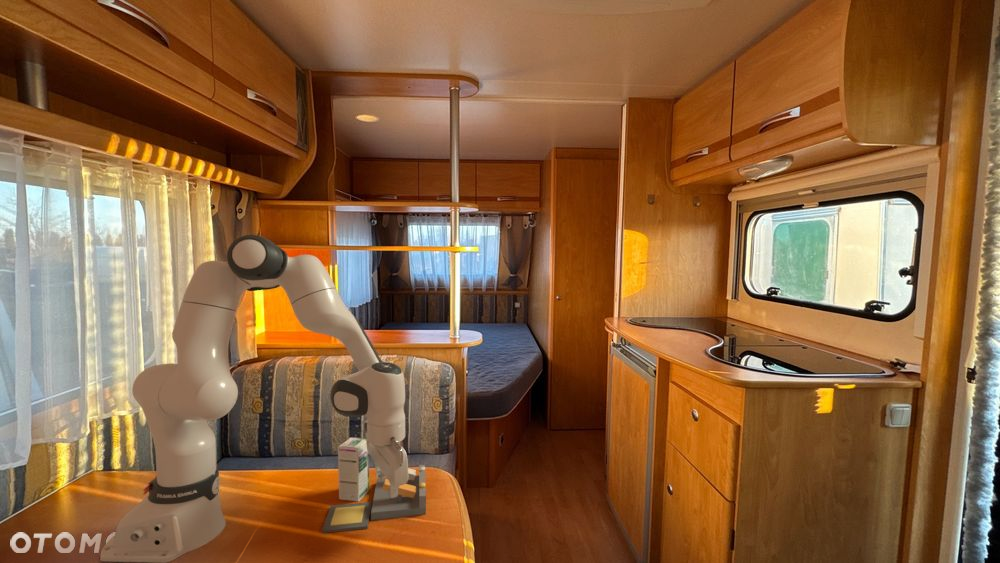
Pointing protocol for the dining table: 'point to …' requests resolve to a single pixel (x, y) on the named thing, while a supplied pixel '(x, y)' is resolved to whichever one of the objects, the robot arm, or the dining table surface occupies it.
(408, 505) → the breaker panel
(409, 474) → the block
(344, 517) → the pad
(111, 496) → the dining table surface
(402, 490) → the block
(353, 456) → the syrup box
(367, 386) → the robot arm
